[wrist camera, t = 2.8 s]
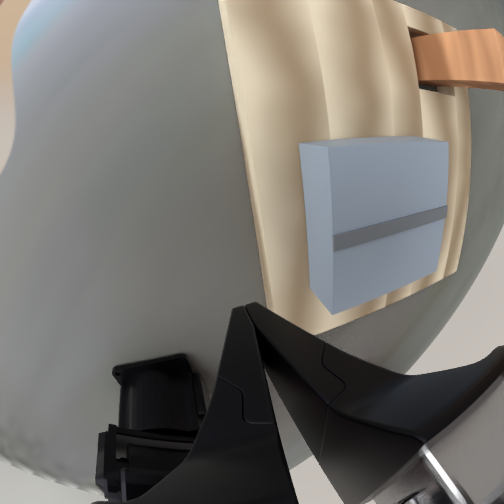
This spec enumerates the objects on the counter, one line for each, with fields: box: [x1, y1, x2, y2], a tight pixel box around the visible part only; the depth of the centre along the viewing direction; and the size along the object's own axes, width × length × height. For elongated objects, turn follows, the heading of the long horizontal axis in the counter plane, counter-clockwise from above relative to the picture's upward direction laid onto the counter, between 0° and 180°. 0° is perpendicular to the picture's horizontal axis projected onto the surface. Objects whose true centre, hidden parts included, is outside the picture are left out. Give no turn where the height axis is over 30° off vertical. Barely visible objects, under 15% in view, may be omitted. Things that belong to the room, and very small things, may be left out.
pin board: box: [218, 0, 471, 335], centre depth 16 cm, size 20×24×2 cm
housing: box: [299, 136, 449, 315], centre depth 15 cm, size 9×9×3 cm
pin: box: [410, 29, 504, 91], centre depth 11 cm, size 4×4×9 cm
